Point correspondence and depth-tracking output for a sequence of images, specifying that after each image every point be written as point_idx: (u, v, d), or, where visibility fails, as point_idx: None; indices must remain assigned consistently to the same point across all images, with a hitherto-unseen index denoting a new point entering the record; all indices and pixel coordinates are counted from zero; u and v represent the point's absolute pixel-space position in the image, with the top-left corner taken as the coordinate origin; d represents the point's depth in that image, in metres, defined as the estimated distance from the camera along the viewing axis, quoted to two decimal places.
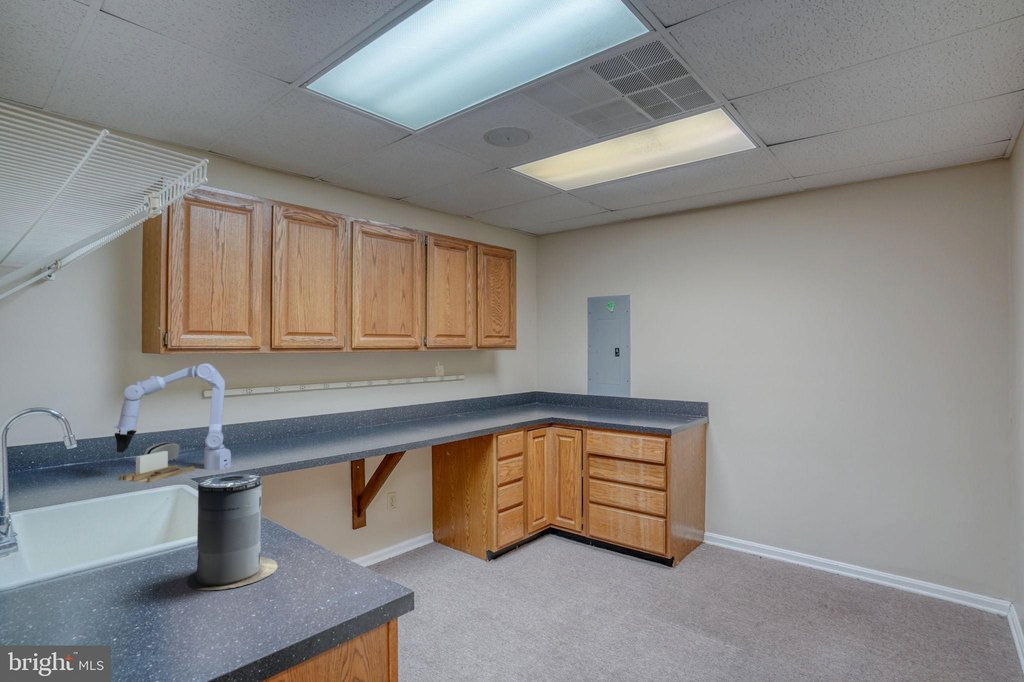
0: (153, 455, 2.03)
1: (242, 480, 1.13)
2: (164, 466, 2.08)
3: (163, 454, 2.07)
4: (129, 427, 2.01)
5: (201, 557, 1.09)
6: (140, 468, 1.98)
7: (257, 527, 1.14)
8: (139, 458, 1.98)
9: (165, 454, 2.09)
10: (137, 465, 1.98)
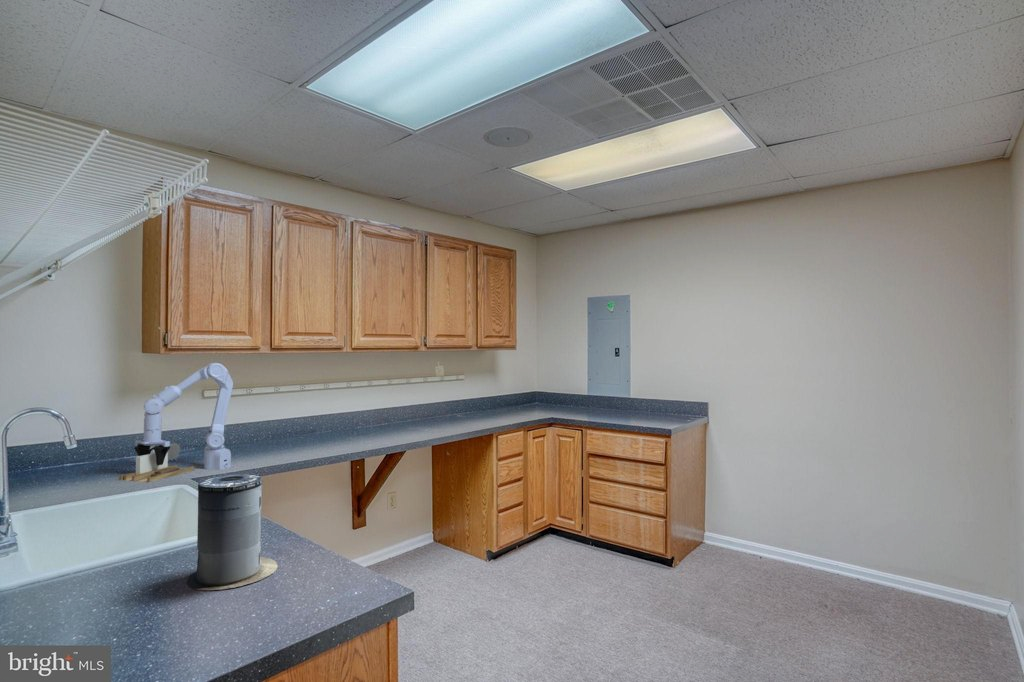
0: (153, 455, 2.03)
1: (242, 480, 1.13)
2: (164, 466, 2.08)
3: None
4: (160, 440, 2.05)
5: (201, 557, 1.09)
6: (140, 468, 1.98)
7: (257, 527, 1.14)
8: (139, 458, 1.98)
9: None
10: (137, 465, 1.98)
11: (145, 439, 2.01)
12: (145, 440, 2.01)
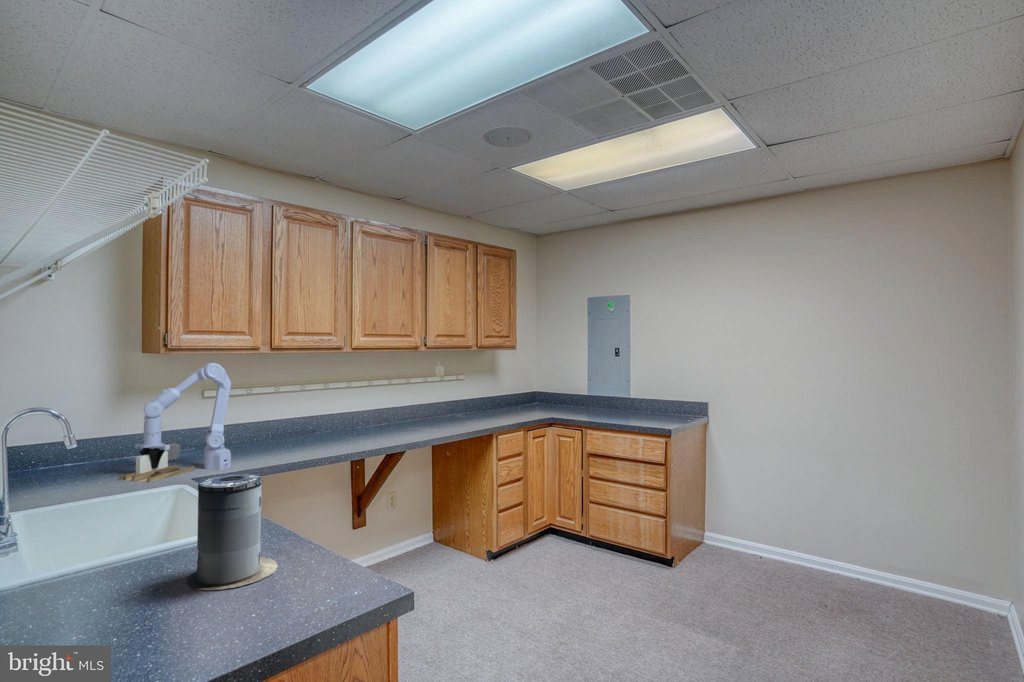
0: None
1: (242, 480, 1.13)
2: (164, 466, 2.08)
3: (163, 454, 2.07)
4: (160, 443, 2.05)
5: (201, 557, 1.09)
6: (140, 468, 1.98)
7: (257, 527, 1.14)
8: (139, 458, 1.98)
9: (165, 454, 2.09)
10: (137, 465, 1.98)
11: (145, 443, 2.01)
12: (145, 444, 2.01)
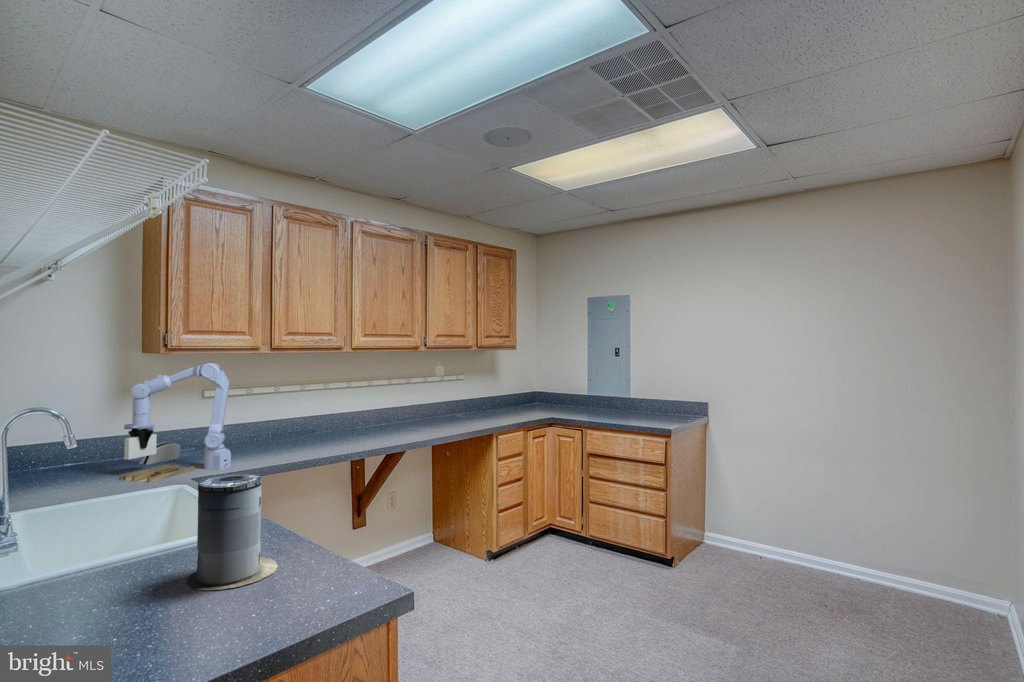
0: None
1: (242, 480, 1.13)
2: (153, 448, 2.11)
3: (151, 437, 2.11)
4: (149, 424, 2.08)
5: (201, 557, 1.09)
6: (129, 450, 2.01)
7: (257, 527, 1.14)
8: (128, 440, 2.01)
9: (154, 436, 2.12)
10: (126, 447, 2.01)
11: (134, 423, 2.05)
12: (134, 424, 2.05)
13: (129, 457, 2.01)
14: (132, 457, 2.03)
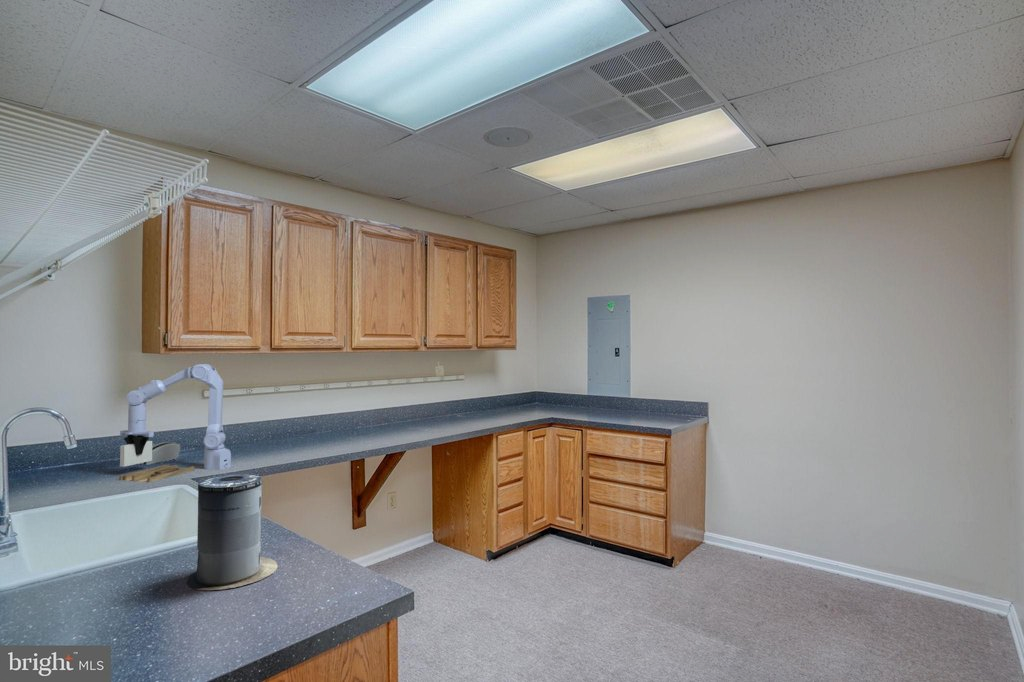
0: None
1: (242, 480, 1.13)
2: (148, 455, 2.13)
3: (147, 444, 2.12)
4: (144, 430, 2.09)
5: (201, 557, 1.09)
6: (124, 457, 2.03)
7: (257, 527, 1.14)
8: (123, 447, 2.02)
9: (150, 443, 2.13)
10: (121, 454, 2.03)
11: (129, 429, 2.06)
12: (129, 430, 2.06)
13: (125, 464, 2.03)
14: (128, 464, 2.04)
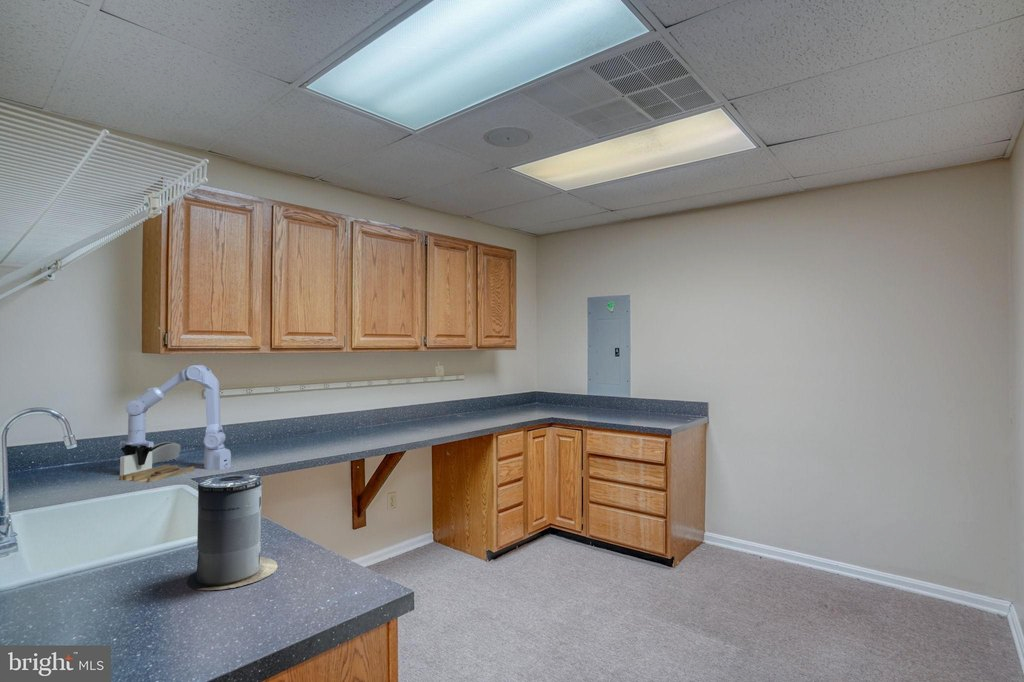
0: None
1: (242, 480, 1.13)
2: (148, 466, 2.12)
3: None
4: (144, 440, 2.09)
5: (201, 557, 1.09)
6: (124, 468, 2.02)
7: (257, 527, 1.14)
8: (123, 458, 2.02)
9: (150, 454, 2.13)
10: (121, 465, 2.03)
11: (129, 440, 2.06)
12: (129, 441, 2.06)
13: None
14: None
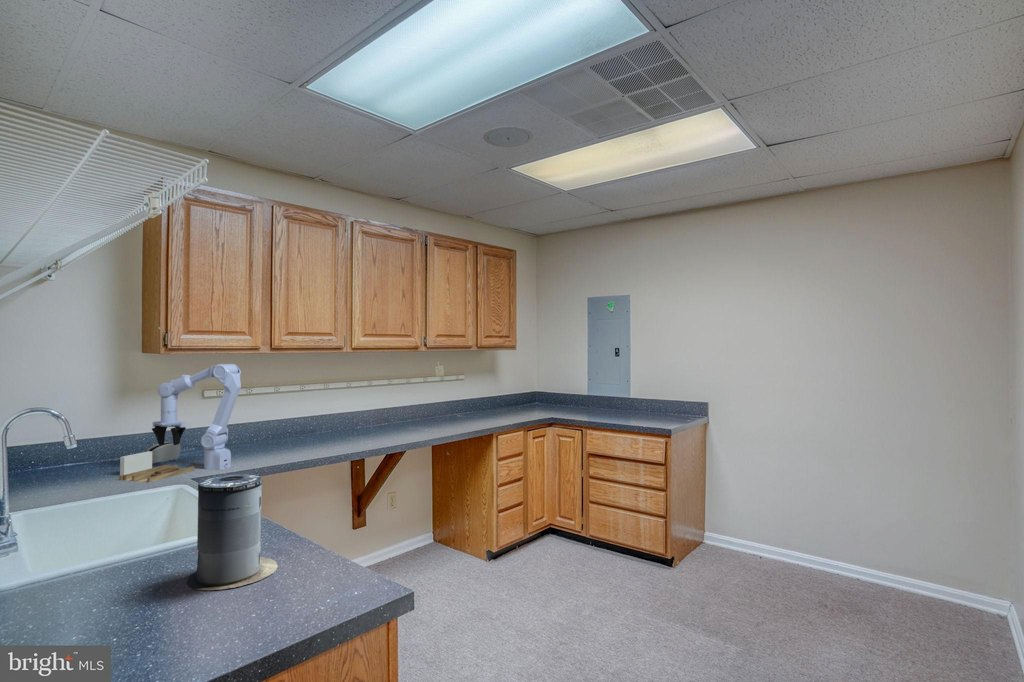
0: (137, 455, 2.08)
1: (242, 480, 1.13)
2: (148, 466, 2.12)
3: (147, 454, 2.12)
4: (176, 421, 2.17)
5: (201, 557, 1.09)
6: (124, 468, 2.02)
7: (257, 527, 1.14)
8: (123, 458, 2.02)
9: (150, 454, 2.13)
10: (121, 465, 2.03)
11: (162, 420, 2.14)
12: (162, 421, 2.14)
13: None
14: None
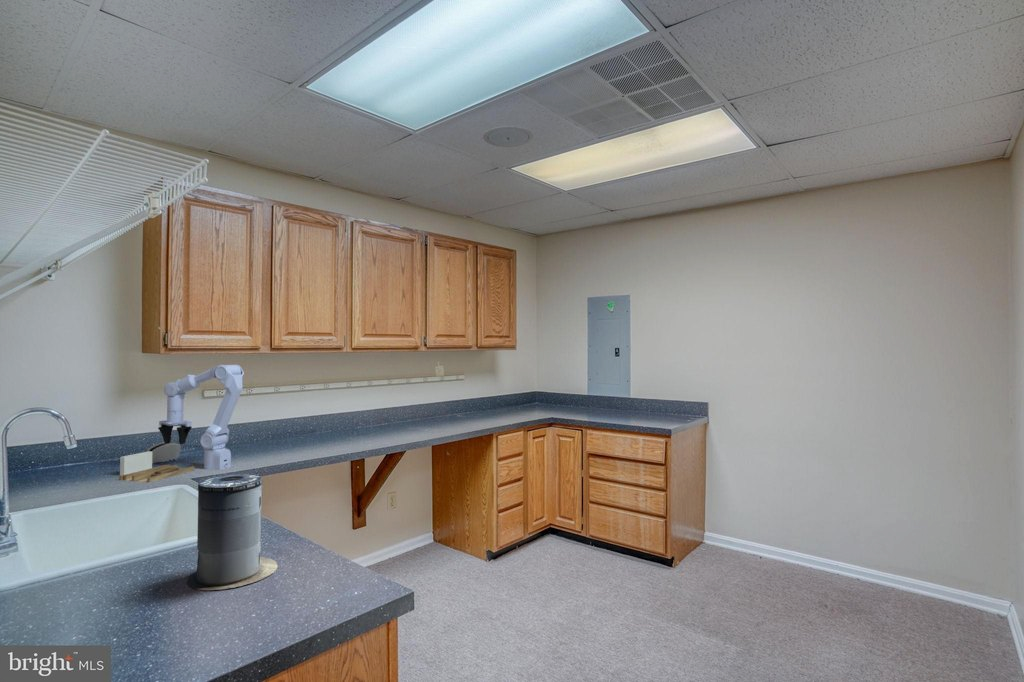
0: (137, 455, 2.08)
1: (242, 480, 1.13)
2: (148, 466, 2.12)
3: (147, 454, 2.12)
4: (182, 420, 2.19)
5: (201, 557, 1.09)
6: (124, 468, 2.02)
7: (257, 527, 1.14)
8: (123, 458, 2.02)
9: (150, 454, 2.13)
10: (121, 465, 2.03)
11: (168, 419, 2.16)
12: (168, 420, 2.16)
13: None
14: None
